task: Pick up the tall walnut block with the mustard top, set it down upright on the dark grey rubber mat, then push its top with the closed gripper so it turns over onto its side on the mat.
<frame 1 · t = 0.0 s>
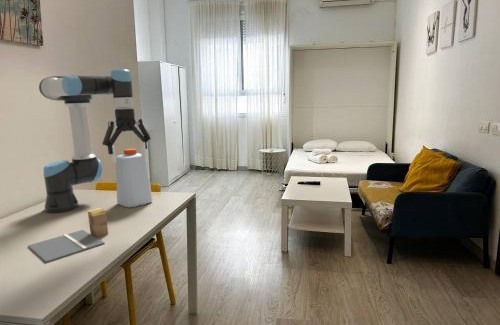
hand: (129, 159, 152), 28 cm above the table, fingers open, 13 cm apart
mat: (66, 245, 135), on the table
plastic bottle: (135, 203, 186), on the table
block: (99, 234, 145), on the table
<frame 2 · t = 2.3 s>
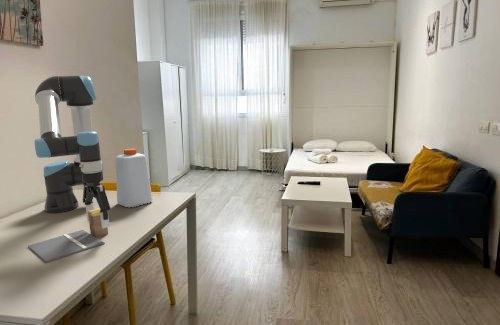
hand: (98, 223, 144), 5 cm above the table, fingers open, 13 cm apart
nothing on the table moved.
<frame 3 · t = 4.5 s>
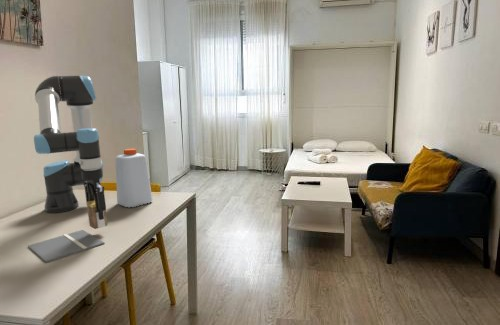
hand: (98, 224, 145), 4 cm above the table, fingers closed on block, 5 cm apart
block: (98, 225, 145), point 3 cm above the table, touching gripper
everything else where it was.
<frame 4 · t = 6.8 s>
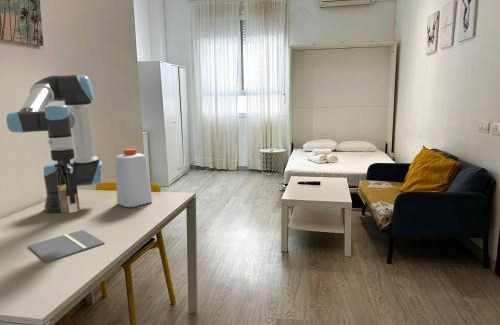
hand: (70, 210, 135), 13 cm above the table, fingers closed on block, 5 cm apart
block: (70, 211, 135), point 13 cm above the table, touching gripper
everything else where it was.
when the fingers open (1 cm above the table, at t = 9.4 s): block stays where it is, resting on mat.
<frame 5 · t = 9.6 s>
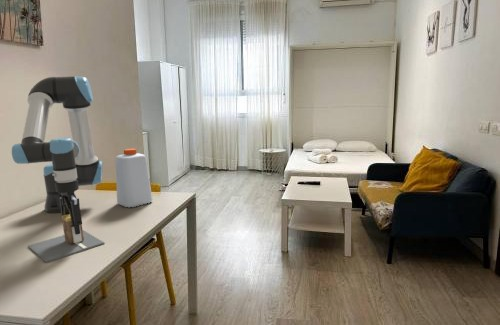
hand: (74, 239, 137), 1 cm above the table, fingers open, 6 cm apart
block: (74, 240, 137), point 1 cm above the table, touching mat
everything else where it was.
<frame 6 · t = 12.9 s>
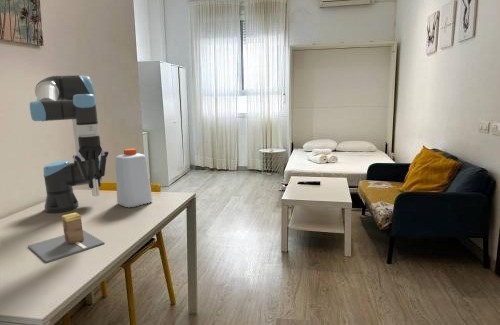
hand: (95, 195, 141), 16 cm above the table, fingers closed
nothing on the table moved.
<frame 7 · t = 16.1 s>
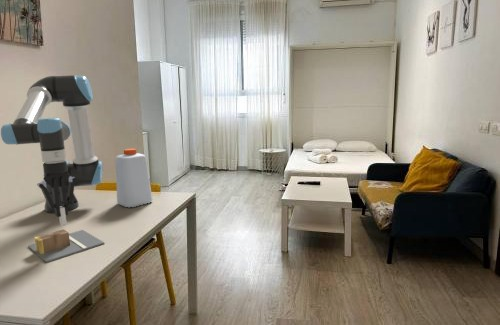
hand: (63, 224, 134), 8 cm above the table, fingers closed
block: (66, 237, 135), point 3 cm above the table, tilted 90°, touching mat
everything else where it was.
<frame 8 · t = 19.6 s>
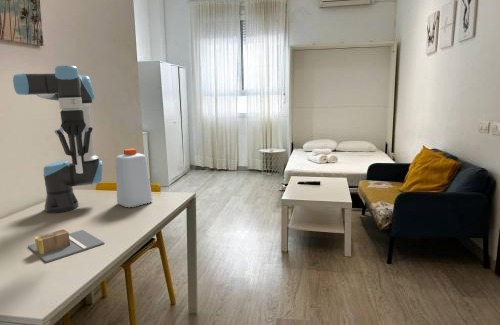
hand: (79, 172, 136), 26 cm above the table, fingers closed
nothing on the table moved.
at the end: block tilted 90°; block inside the target area (1.6 cm from its centre), point 3.1 cm above the table; the gripper is holding nothing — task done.
